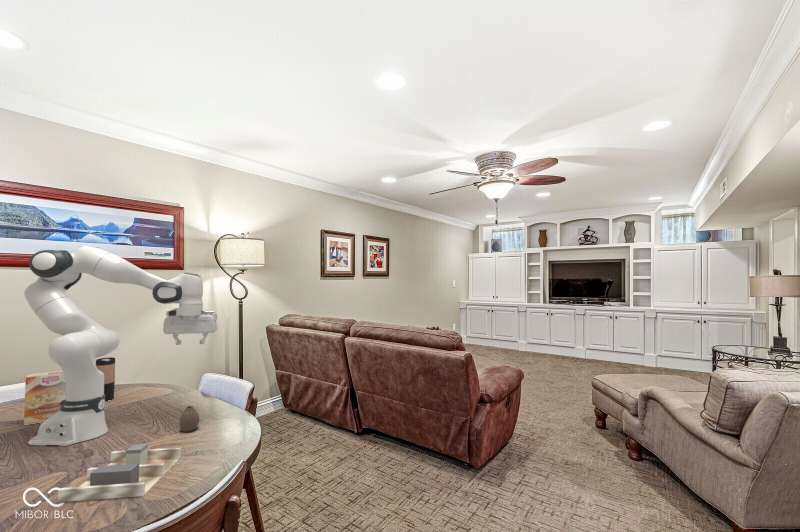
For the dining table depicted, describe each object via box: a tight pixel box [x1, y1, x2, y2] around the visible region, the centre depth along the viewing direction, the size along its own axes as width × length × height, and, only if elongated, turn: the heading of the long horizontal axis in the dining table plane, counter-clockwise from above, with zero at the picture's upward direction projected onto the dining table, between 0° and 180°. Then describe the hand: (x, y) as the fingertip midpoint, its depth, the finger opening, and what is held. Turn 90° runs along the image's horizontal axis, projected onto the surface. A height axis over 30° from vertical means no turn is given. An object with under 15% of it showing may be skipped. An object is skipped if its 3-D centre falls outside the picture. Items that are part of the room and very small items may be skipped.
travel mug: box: [95, 357, 116, 402], centre depth 182 cm, size 8×8×20 cm
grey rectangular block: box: [125, 443, 149, 465], centre depth 112 cm, size 4×4×6 cm
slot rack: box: [57, 447, 182, 503], centre depth 107 cm, size 20×22×4 cm
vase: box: [178, 405, 200, 433], centre depth 144 cm, size 7×7×9 cm
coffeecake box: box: [23, 369, 66, 426], centre depth 156 cm, size 15×7×20 cm, turn 131°
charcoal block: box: [90, 464, 139, 486], centre depth 102 cm, size 10×4×5 cm, turn 97°
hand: (190, 344), depth 157 cm, fingers open, 8 cm apart
